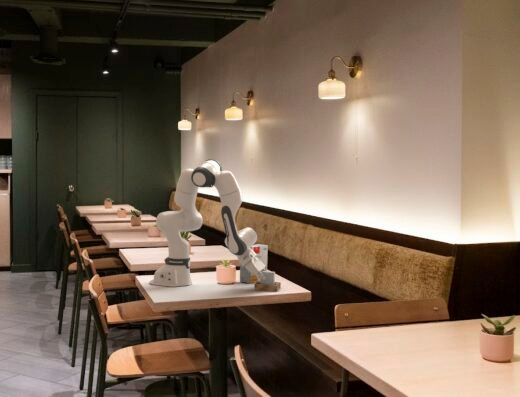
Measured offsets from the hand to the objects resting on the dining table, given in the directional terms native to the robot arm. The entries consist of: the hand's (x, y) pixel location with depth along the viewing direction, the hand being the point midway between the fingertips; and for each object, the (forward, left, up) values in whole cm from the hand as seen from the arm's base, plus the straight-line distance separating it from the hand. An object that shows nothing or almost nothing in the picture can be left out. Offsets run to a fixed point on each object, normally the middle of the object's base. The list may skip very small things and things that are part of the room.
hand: (266, 277), depth 334 cm
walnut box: (+1, -1, -6) cm, 6 cm away
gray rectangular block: (+1, -1, -6) cm, 6 cm away
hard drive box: (-11, +19, -6) cm, 23 cm away
